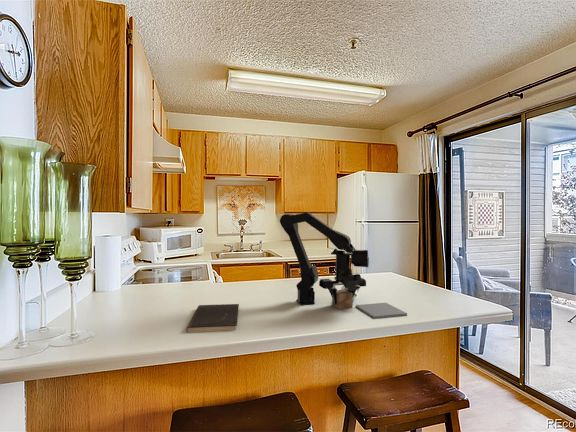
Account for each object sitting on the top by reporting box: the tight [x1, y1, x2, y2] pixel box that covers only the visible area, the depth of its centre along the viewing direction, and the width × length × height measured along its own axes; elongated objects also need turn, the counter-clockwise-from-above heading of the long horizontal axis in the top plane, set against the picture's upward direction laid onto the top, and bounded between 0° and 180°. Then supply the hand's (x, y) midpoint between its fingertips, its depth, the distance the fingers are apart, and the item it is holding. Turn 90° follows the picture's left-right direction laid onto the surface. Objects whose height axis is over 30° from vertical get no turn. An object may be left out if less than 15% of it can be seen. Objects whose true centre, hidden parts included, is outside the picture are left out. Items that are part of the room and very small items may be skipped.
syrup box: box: [340, 285, 360, 299], centre depth 137 cm, size 6×6×14 cm
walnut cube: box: [331, 289, 354, 310], centre depth 126 cm, size 6×6×6 cm
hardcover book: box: [185, 303, 240, 333], centre depth 110 cm, size 16×23×2 cm
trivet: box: [355, 302, 408, 319], centre depth 120 cm, size 14×14×1 cm
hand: (342, 303), depth 126 cm, fingers closed on walnut cube, 6 cm apart
